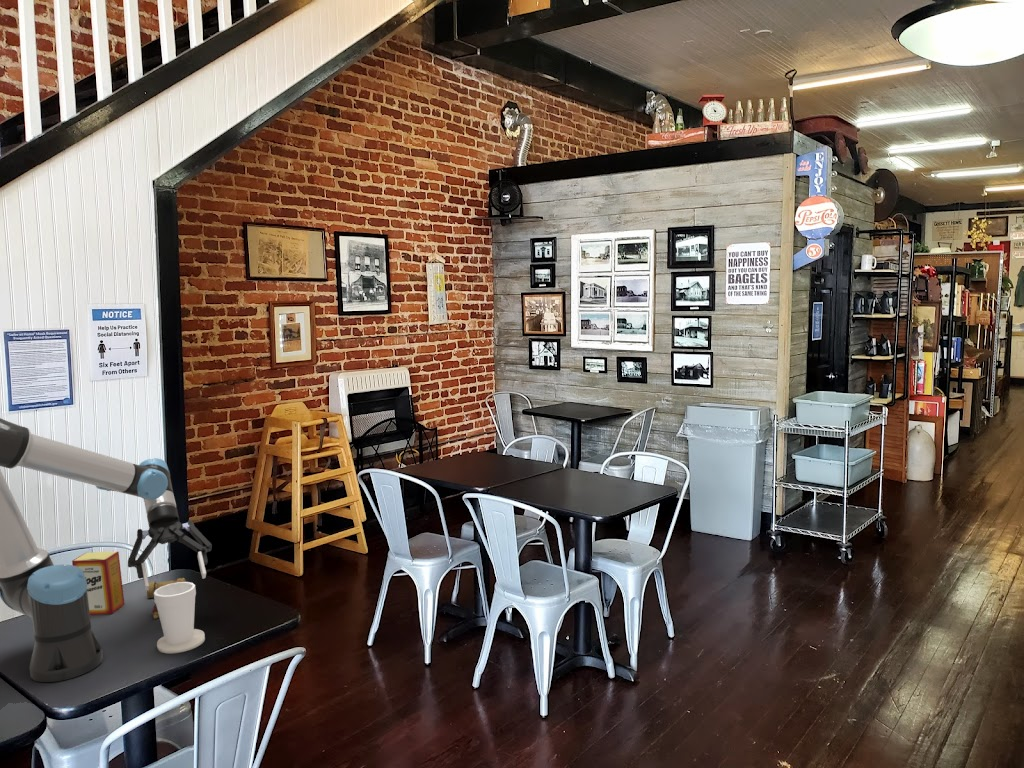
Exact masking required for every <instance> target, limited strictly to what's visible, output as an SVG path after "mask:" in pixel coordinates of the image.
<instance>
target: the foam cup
mask: <svg viewBox="0 0 1024 768" xmlns="http://www.w3.org/2000/svg"><path fill="white" fill-rule="evenodd" d="M196 588H197V587H196V584H194V583H193V582H190V581H186V582H177V583H172V584H167V585H165V586H162V587H160V588H158V589H156V590H155V592H154V598H153V599H154V600H153V601H154V603H155V604H156V606H157V610H158V614H159V617H158V618H159V621H160V624H161V629H162V632H163V636H164V637H165V640H166V643H167V644H171V645H177V644H182V643H185V642H188V641H190V640H191V639H192V638H193V634H194V629H195V607H196V605H195V604H196V595H197V590H196Z"/></svg>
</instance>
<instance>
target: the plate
mask: <svg viewBox="0 0 1024 768" xmlns="http://www.w3.org/2000/svg"><path fill="white" fill-rule="evenodd" d="M205 636H206V635H205V632H204V631H203V630H201V629H198V628H194V634H193V638H192V639H191V640H190V641H188V642H185V643H182V644H177V645H171V644H167V643H166V640H165V637H164V635H163V636H161V638H159V639H158V640H157V642H156V647H157V651H159V652H160V653H162V654H179V653H184V652H188V651H191V650H193V649H196V648H198V647H199V646H201V645H203V643H204V642H205V640H206V637H205Z"/></svg>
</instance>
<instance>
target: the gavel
mask: <svg viewBox="0 0 1024 768" xmlns="http://www.w3.org/2000/svg"><path fill="white" fill-rule="evenodd" d="M177 582H187V580H186V579H185V578H184V577H182V578H181V577H180V578H177V579H176V580H175V579H174V580H166V581H160V582H156V581H151V582H149V581H148V583H149V590H148V591H146V596H147V598H148V599H154V592H155V590H156V589H158V588H160V587H162V586H165V585H167V584H172V583H177ZM151 611H152V613H151V614H152V616H153V619H158V618H159V614H158V610H157V606H156V603H155V604H154V606H153V609H152V610H151Z"/></svg>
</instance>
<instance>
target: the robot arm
mask: <svg viewBox="0 0 1024 768" xmlns="http://www.w3.org/2000/svg"><path fill="white" fill-rule="evenodd" d="M0 467H1V468H6V469H12V470H13V469H14V468H16V467H20V468H25V469H29V470H33V471H36V472H37V471H38V472H41V473H45V474H49V475H53V476H57V477H61V478H63V479H64V478H65V479H69V480H71V481H72V480H73V481H77V482H81V483H84V484H88V485H93V486H95V488H96V489H99V490H103V491H106V492H110V491H111V492H117V493H120V494H121V493H122V494H126V495H131V496H134V497H139V498H141V499H143V502H144V508H145V514H146V518H147V523H148V529H145V530H143V529H141V528H139V529H137V531H136V539H135V542H134V545H133V547H132V549H131V551H130V555H129V556H128V559H127V567H128V568H135V569H136V573H137V578H138V579H142V580H143V585H144V586H143V587H144V591H145V592H147V591H148V590H149V578H148V573H147V567H146V562H145V561H146V560H147V559H148V557H149V556H150V554H151V553H152V552H153V550H154V549H155V548H156V547H157V546H158V544H159V545H166V544H167V543H174V542H175V541H176V542H178V543H181V544H183V545H185V546H186V547H188V548H189V549H191V550H192V551H193V552H196V553H197V560H198V566H199V570H200V574H201V578H202V579H206V576H207V570H206V567H205V566H207V565H208V560H209V559H208V556H207V553H210V552H211V551H212V547H213V545H212V542H210V541H209V540H208V539H207V538H206V537H205V536H204V535H203V533H202V532H201V531H200V530H199V529H198V528H197V527H196V526H195V524H194V521H193V520H192V519H189V520H188V521H187V522H185V523H182V522H180V516H179V512H178V507H177V503H176V499H175V496H174V490H173V485H172V479H171V473H170V469H169V467H168V464H167V462H166V461H165V460H164V459H162V458H158V457H157V458H156V457H154V458H148V459H146V460H145V459H144V460H143V461H141V462H140V463H139V464H136V463H132V462H129V461H125V460H122V459H119V458H115V457H112V456H109V455H104V454H102V453H98V452H95V451H91V450H88V449H84V448H82V447H81V448H80V447H78V446H74V445H70V444H68V443H64V442H62V441H61V442H60V441H57V440H53V439H50V438H47V437H43V436H41V435H37V434H34V433H32V432H31V430H30V428H28V427H26V426H22V425H19V424H16V423H13V422H10V421H8V420H5V419H3V418H1V417H0ZM19 508H20V507H19V506H18V504H17V502H16V500H15V497H14V495H13V493H12V491H11V489H10V488H9V484H8V483H7V480H6V479H5V476H4V474H3V472H2V470H1V469H0V598H1V600H2V602H3V603H4V604H5V605H6V606H7V607H8V608H10V609H11V610H14V611H16V612H18V613H21V614H22V615H25V616H27V617H28V618H30V619H31V622H32V629H33V637H34V646H33V650H32V654H31V657H30V663H29V667H28V670H29V674H30V675H29V676H30V679H31V680H33V681H35V682H40V683H53V682H54V683H55V682H61V681H66V680H69V679H72V678H73V679H74V678H76V677H79V676H81V675H84V674H86V673H89V672H91V671H93V670H94V669H95V668H97V667H98V666H99V665H100V664H102V663H103V660H104V654H103V648H102V646H101V644H100V643H99V640H98V639H97V637H96V635H95V633H94V631H93V629H92V622H91V615H90V612H89V603H88V594H87V581H86V579H85V575H84V572H83V571H82V570H81V569H80V568H79V567H76V566H73V565H72V564H65V565H64V564H54V562H53V560H52V558H51V557H50V554H49V552H48V550H47V549H44V548H39V547H38V546H37V544H36V542H35V540H34V537H33V535H32V533H31V531H30V529H29V527H28V525H27V523H26V520H25V518H24V516H23V514H22V512H21V510H20V509H19ZM183 530H185V531H186V532H189V534H190V535H191V536H192V537H193V538H194V539H195V540H194V539H192V538H191V537H189V536H188V535H186V534H185V532H183ZM147 536H148V537H150V538H151V539H150V541H149V543H148V544H147V546H146V547H145V548H144V550H143V551H142V553H140V555H139V556H138V554H139V551H140V549H141V546H142V544H143V540H145V539H146V537H147ZM137 557H138V558H137Z"/></svg>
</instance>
